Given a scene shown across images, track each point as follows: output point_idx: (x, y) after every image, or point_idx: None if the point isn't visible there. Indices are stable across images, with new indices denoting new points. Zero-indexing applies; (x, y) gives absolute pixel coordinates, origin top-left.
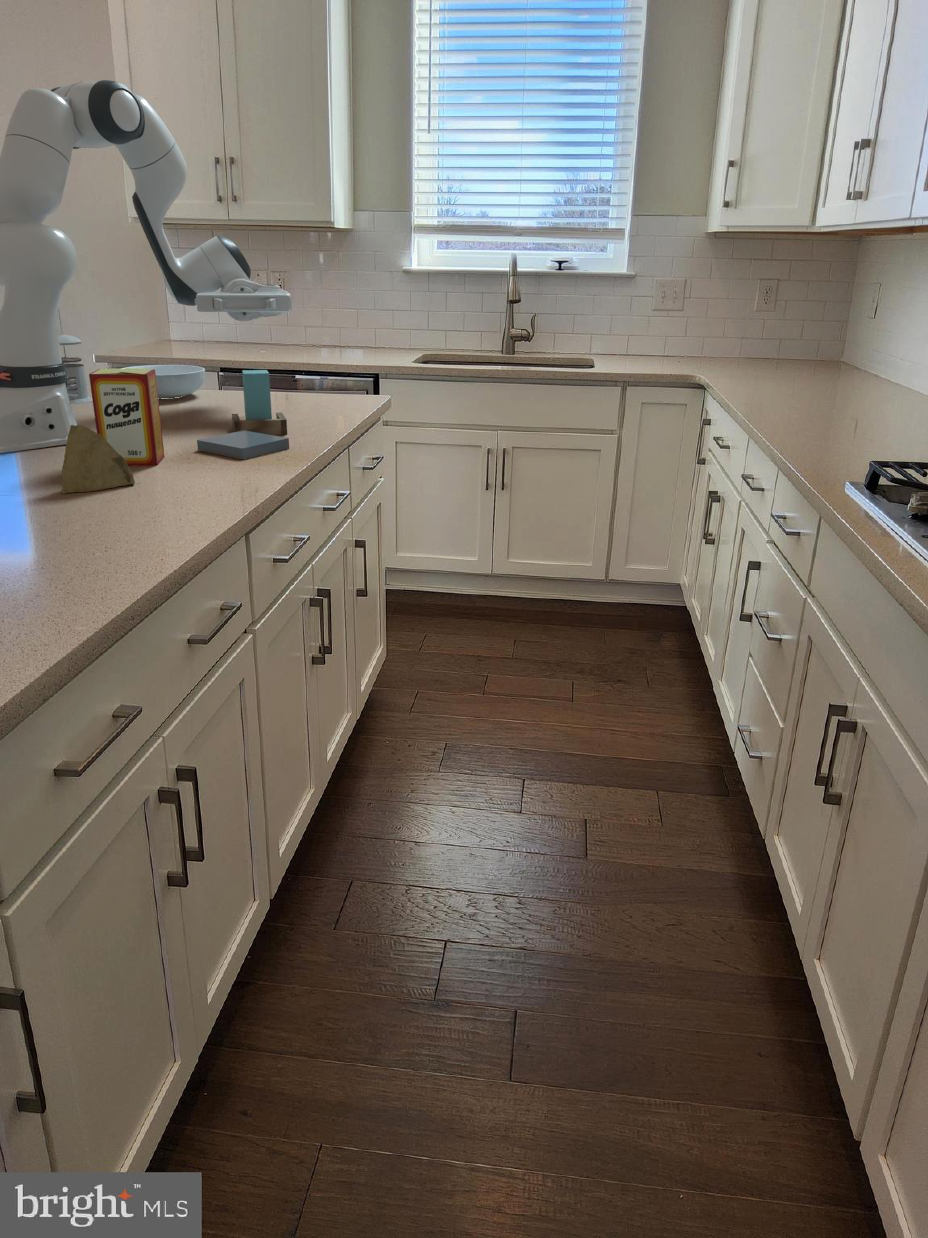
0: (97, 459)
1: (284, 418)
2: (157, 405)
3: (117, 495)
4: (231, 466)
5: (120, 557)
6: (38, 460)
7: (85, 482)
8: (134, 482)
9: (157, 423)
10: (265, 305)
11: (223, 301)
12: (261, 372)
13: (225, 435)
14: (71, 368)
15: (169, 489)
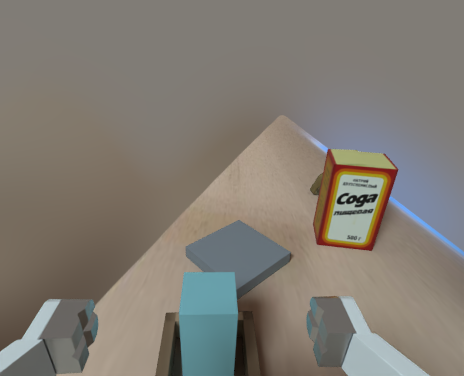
0: None
1: (166, 323)
2: (325, 194)
3: (312, 180)
4: (248, 214)
5: (282, 139)
6: (437, 250)
7: None
8: (310, 188)
9: (321, 204)
10: (84, 345)
11: (330, 297)
12: (197, 282)
13: (260, 266)
14: None
15: (284, 183)
